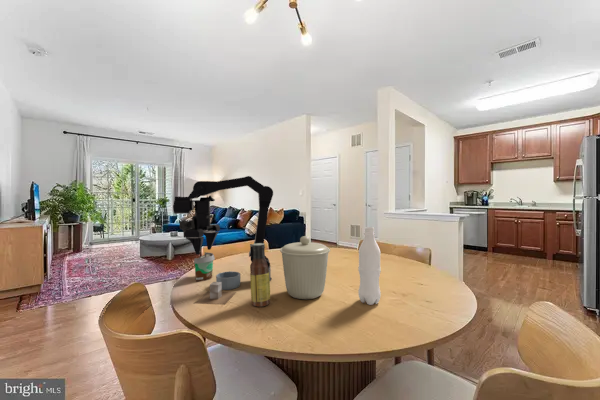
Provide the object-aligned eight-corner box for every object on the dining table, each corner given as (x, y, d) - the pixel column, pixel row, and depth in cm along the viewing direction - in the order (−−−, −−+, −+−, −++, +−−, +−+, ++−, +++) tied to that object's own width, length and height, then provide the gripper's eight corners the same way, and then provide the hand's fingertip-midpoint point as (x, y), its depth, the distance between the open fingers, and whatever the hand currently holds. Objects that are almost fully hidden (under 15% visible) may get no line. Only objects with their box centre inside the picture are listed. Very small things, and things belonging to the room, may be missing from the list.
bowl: (243, 282, 111) (243, 271, 111) (235, 290, 102) (235, 278, 102) (221, 281, 112) (221, 271, 112) (212, 289, 103) (212, 277, 103)
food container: (209, 282, 111) (208, 258, 111) (194, 282, 112) (193, 258, 111) (218, 274, 124) (218, 252, 124) (205, 273, 124) (205, 252, 124)
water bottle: (368, 308, 86) (368, 229, 85) (354, 300, 92) (354, 227, 92) (385, 303, 89) (385, 228, 89) (370, 296, 96) (370, 225, 95)
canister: (328, 306, 88) (328, 241, 87) (274, 302, 91) (274, 239, 90) (331, 287, 106) (331, 233, 105) (286, 284, 109) (285, 232, 108)
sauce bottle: (273, 301, 92) (273, 242, 91) (265, 309, 86) (264, 246, 85) (256, 299, 94) (255, 241, 93) (246, 306, 88) (246, 245, 87)
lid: (236, 293, 100) (236, 278, 100) (225, 306, 89) (224, 289, 89) (207, 293, 102) (207, 278, 101) (193, 304, 91) (193, 288, 90)
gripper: (195, 211, 118) (196, 247, 119) (169, 215, 100) (170, 257, 100) (220, 211, 117) (221, 247, 117) (197, 214, 98) (199, 257, 99)
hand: (203, 252), depth 108 cm, fingers open, 9 cm apart
